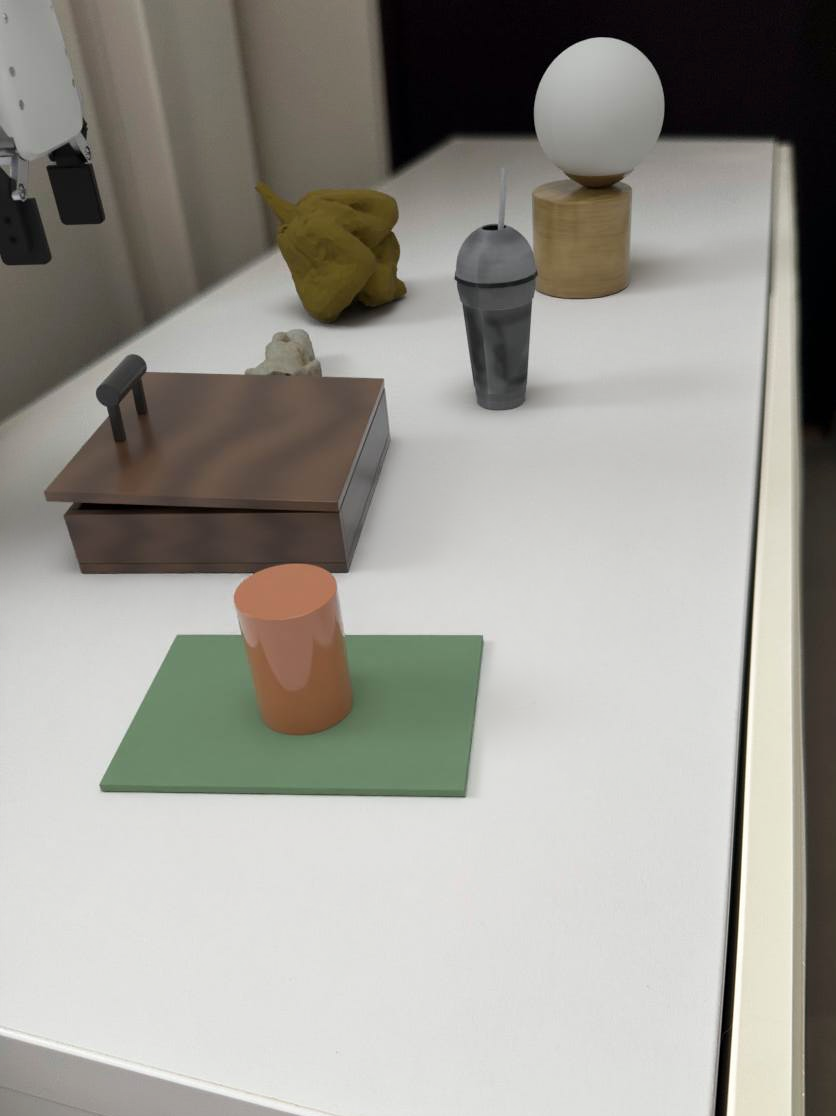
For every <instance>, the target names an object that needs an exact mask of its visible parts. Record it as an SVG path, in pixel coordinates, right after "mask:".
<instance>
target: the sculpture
mask: <svg viewBox="0 0 836 1116" xmlns="http://www.w3.org/2000/svg"><path fill="white" fill-rule="evenodd" d="M271 339H272V340H271V341H270V342H268V343H267V345H265V350H264V351H265V352H264V353H265V354H264V356H265V357H264V360H263V361H262V362H261V363H259V364H258V365H257V366H255V367H249V368H247V369H245V370H244V375H278V376H314V377H323V371H322V366H321V361H320V360H318V359H316V355H315V351H314V347H313V344H312V341H311V338H310V335H309V333H308V332H307V331H306V330H304V329H302V328H293V329H289V330H288V331H286V332H284V331H278V332H277V331H276V332H275V333H274V334H273V335H272V338H271Z"/></svg>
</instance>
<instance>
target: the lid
mask: <svg viewBox="0 0 836 1116" xmlns="http://www.w3.org/2000/svg"><path fill="white" fill-rule="evenodd" d="M147 369H148V367H147V362H146V361H145V359H144V358H143V357H141V356H140V355H139V354H134V353H130V354H128V355H126V356H125V357H124V359H122V360H121V361H120V362H119V364H118V365H117V366H116V367H115V368H114V369H113V370H112V371H111V372H110V373H109V375H108V376H107V377H106V378H105V379H103V380H102V382H101V383H100V384H98V385H99V386H97V387H96V390H95V397H96V399H97V401H98V403H100V404H101V405H102V406H104V407H106V409H107V414H108V416H107V417H106V418H105V419H104V420H103V422H102V423H101V424H100V425H99V426H98V427H97V428H96V430H95V431H94V432H93V434H92V435H90V437H89V438H88V440H86V441H85V442H84V444H83V445H82V446H81V448H79V450H78V451H77V452H76V453H75V455H74V456H73V457H72V458H71V459H70V460H69V462H67V464H66V465H65V466H64V467H63V469H62V470H61V471H60V472H59V473H58V474H57V475H56V477H54V479H52V481H51V483H50V484H49V485H48V486H47V487H46V488H45V489H44V491H43V494H44V498H45V501H46V502H51V503H74V502H76V503H105V504H133V505H161V506H190V507H218V508H246V509H275V510H303V511H331V512H338V511H339V509H340V507H341V504H342V501H343V498H344V496H345V493H346V490H347V487H348V485H349V482H350V479H351V477H352V474H353V471H354V468H355V466H356V463H357V460H358V458H359V455H360V452H361V449H362V447H363V444H364V441H365V438H366V436H367V433H368V430H369V428H370V425H371V422H372V419H373V417H374V414H375V411H376V409H377V406H378V403H379V400H380V398H381V395H382V392H383V389H384V388H386V387H385V378H383V377H380V378H379V377H347V376H346V377H344V376H322V377H314V376H278V375H245V374H241V373H240V374H239V373H238V374H237V373H207V372H206V373H204V372H203V373H201V372H199V373H197V372H171V371H170V372H168V371H167V372H166V371H165V372H164V371H147Z"/></svg>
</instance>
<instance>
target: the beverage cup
mask: <svg viewBox="0 0 836 1116" xmlns="http://www.w3.org/2000/svg"><path fill="white" fill-rule="evenodd" d="M508 169H509V167H507V166H501V173H500V174H501V175H500V186H499V188H500V189H499V190H500V191H499V205H498V220H497V223H487V224H485V225H481V226H480V227H478V228H476V229H475V230H473V231H472V232H471V233H470V234H469V235H468V236H467V237H466V238H465V239H464V240H463V242H462V244H461V246H460V247H459V250H458V253H457V256H456V263H455V270H454V280H455V281H456V288H457V293H458V297H459V300H460V301H459V302H461V305H462V312H463V318H464V320H463V321H464V327H465V333H466V339H467V347H468V355H469V361H470V368H471V374H472V376H471V377H472V382H473V388H474V391H475V396H476V403H477V404H478V406H480V407H482V408H484V409H488V410H493V411H494V410H495V411H501V410H502V411H503V410H504V411H505V410H511V409H515V408H518V407H519V406H521V405H523V404H524V403H525V401H526V393H527V392H526V391H527V385H528V376H529V375H528V374H529V373H528V372H529V359H530V358H529V357H530V343H531V342H530V341H531V327H532V326H531V325H532V309H533V299H534V298H535V291H536V288H535V286H536V277H537V276H538V272H537V268H536V265H535V258H534V254H533V248H532V246H531V245H530V243H529V241H528V240H527V238H526V237H525V236H524V235H523V234H522V233H521V232H519V231H518V230H517V229H515V228H514V227H513V226H510V225H506V224H505V215H506V200H507V184H508Z"/></svg>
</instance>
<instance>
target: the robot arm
mask: <svg viewBox="0 0 836 1116" xmlns="http://www.w3.org/2000/svg"><path fill="white" fill-rule="evenodd" d="M56 15H57V14H56V13H55V9H54V6H53V3H52V0H0V259H1V261H2V263H3V264H4V265H6V266H10V267H11V266H39V265H43V266H45V265H47V264H49V263H50V262H51V261H52V258H53V256H52V252H51V248H50V245H49V242H48V237H47V234H46V231H45V227H44V224H43V220H42V216H41V213H40V210H39V206H38V201H37V199H36V197H28V196H29V195H28V194H29V173H30V171H29V170H30V169H29V168H30V162H33V161H36V160H38V159H40V158H42V157H44V156H46V157H47V158H48V160H49V161H50V162H51V164H48V165H46V166H45V168H46V172H47V176H48V179H49V183H50V186H51V191H52V194H53V198H54V200H55V201H54V202H55V205H56V208H57V212H58V216H59V220H60V222H61V223H62V224H63V225H65V226H79V225H81V226H84V225H85V226H86V225H101V224H102V223H104V222H105V220H106V213H105V209H104V206H103V202H102V198H101V197H102V196H101V195H100V194H101V193H100V189H99V186H98V182H97V177H96V173H95V169H94V166H93V163H92V161H93V151H92V148H91V146H90V144H89V142H88V141H87V139H88V137H87V136H88V130H89V127H87V126H88V125H89V124H88V122H87V120H85V118H84V116H85V115H84V102H83V92H82V90H81V88H80V86H79V85H77V84H76V81H75V77H74V74H73V70H72V66H71V62H70V58H69V56H68V52H67V48H66V44H65V41H64V38H63V34H62V32H61V28H60V24H59V21H58V18H57V16H56ZM6 166H8V167H9V166H10V174H9V175H8V173H7V172H6V171H5V170H4V168H3V167H6Z"/></svg>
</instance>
